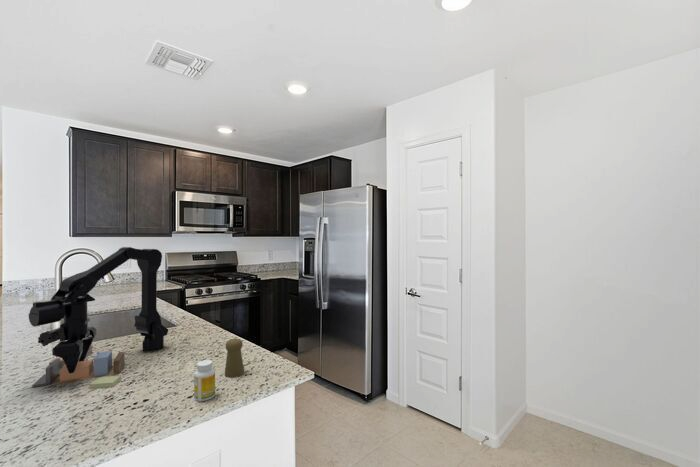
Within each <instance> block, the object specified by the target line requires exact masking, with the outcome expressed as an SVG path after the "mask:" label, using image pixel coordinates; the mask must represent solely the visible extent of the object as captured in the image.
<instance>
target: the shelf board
mask: <svg viewBox="0 0 700 467" xmlns="http://www.w3.org/2000/svg"><path fill="white" fill-rule="evenodd" d="M124 366H125V351H119V352H118V353H117V355H116V356H115V358H114V359H113V360H112V368H111V370H110V371H109V373H108V374H106V375H100V376H94V370H93V372H92V373H91V375H90V376H89V377H85V378H79V379H73V380H67V381H62V382H60V375H59V376H58V377H57V378H56V379H55V380H54V381H53V382H52V383H51V384H50V385H44V386H38V387H32V386H30V389H35V388H42V387H49V386H55V385H60V384H66V383H72V382H79V381H83V380H91V379H98V378H99V377H111V376H117V375H120V373H121V372H122V370H123V367H124Z"/></svg>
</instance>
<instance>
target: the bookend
mask: <svg viewBox="0 0 700 467" xmlns="http://www.w3.org/2000/svg"><path fill="white" fill-rule="evenodd" d="M54 359H55V358H54ZM59 375H60V358H57V359H55V360H54V361H53V362H52V363H51V364H50V365H49V364H48V365H47V366H46V367H45V373H44V374H43V375H42V376H41V377H39V378H38V380H37V381H36V382H34V383H33V384H32V386H31V387H36V388H39V387H38V386H43V387H45V386H44V385H49V386H51V385H50V384H51V383H52V382H53V381H54V380H55V379H56V378H57V377H58V376H59Z"/></svg>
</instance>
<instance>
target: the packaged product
mask: <svg viewBox="0 0 700 467" xmlns="http://www.w3.org/2000/svg"><path fill="white" fill-rule="evenodd" d="M99 352H100V351H99V350H98V351H93V344H91V347H90V349H89V351H88V353H87V355H86V358H87V357H88V356H92V355H97V354H98V353H99ZM57 358H60V357H56V356H55V357H54V358H53V359H52V360H50V361H49V363H48V366H49V365H50V364H51V363H52V362H53V361H54V360H55V359H57ZM78 362H79V361H78ZM64 365H65V362H64V360H63V359H62V358H60V369H61V368H62V367H63V366H64ZM44 370H45V371H46V368H44ZM39 374H41V372H40V373H39Z"/></svg>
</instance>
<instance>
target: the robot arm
mask: <svg viewBox="0 0 700 467" xmlns="http://www.w3.org/2000/svg"><path fill="white" fill-rule="evenodd" d="M162 259H163V253H162V252H161V251H160V250H159V249H157V248H143V249H142V248H141V249H140V248H133V247H131V246H122V247H120V248H118V250H117V251H115V252H113V253H112V254H110V255H109V256H108V257H106V258H104V259H103V260H101V261H99V262H98V263H97V264H95V265H93V266H92V267H90V268H88V269H87V270H85V271H84V270H83V271H82V272H79V273H76V274H73V275H71V276H69V277H67V278H65V279H63V280H62V281H61V282H60V284H59V288H58V290H57V291H55V293H54V295H52V297H51V298H50V300H44V301H35V302H33V303H32V307H31V308H30V310H29V313H28V320H29V324H30V325H31V326H32V327H33V328H35V327H40V326H43V325H47V324H52V323H59V322H60V321H61V320H62V319H63V323H61V324H60V326H59V327H57V328H55V329H52V330H47V331H44V332H41V333H40V334H39V336H38V337H37V340H38V341H37V343H38V344H41V346H42V347H46V346H48V345H49V344H52V343H54V342H57V341H59V342H58V343H57V344H56V345H55V346H54V347H52V349H51V350H52V356H54V357H55V358H56V357H60V358H62V359H63V360H64V362H65V365H66V367H67V369H68V371H69V373H74V371H75V369H76V366H77V364H78V361H79V362H80V361H86V359H87V357H86V355H87V353H88V351H89V349H90V347H91V345H93V342H94V340H95V338H96V335H97V328H95V327H94V326H88V324H89V322H90V317H88V303H89V302H94V301H95V302H96V298H95V297H93V296H91V295H90V294H89V293H90V292H91V291H92V290H93V289H94V288H96V285H97V284H98V283H99V281H100V280H101V279H103V278H104V277H105V276H106V275H108V274H110V273H112V272H113V271H114V270H116V269H117V268H119V267H120V266H121V265H122V264H124V263H126V262H127V261H129V260H134V261H136V264H137V266H138V268H139V270H140V272H141V310H140V312H139V314H138V315H135V316H134V320H135V321H134V325H133V326H134V327H135V328H136V331H138V332H139V334H140V335H141V337H143V340H142V352H155V351H156V352H157V351H160V350H163V349H164V348H165V337H166V336H167V335H168V332H169V329H168V327H166V326H164V324H162V318H161V315H160V313H159V311H158V308H157V302H158V301H157V300H158V299H157V298H158V297H157V296H158V295H157V292H158V291H157V287H158V286H157V284H158V283H157V281H158V280H157V278H158V277H157V276H158V271H159V268H160V267H161V265H162Z"/></svg>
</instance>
